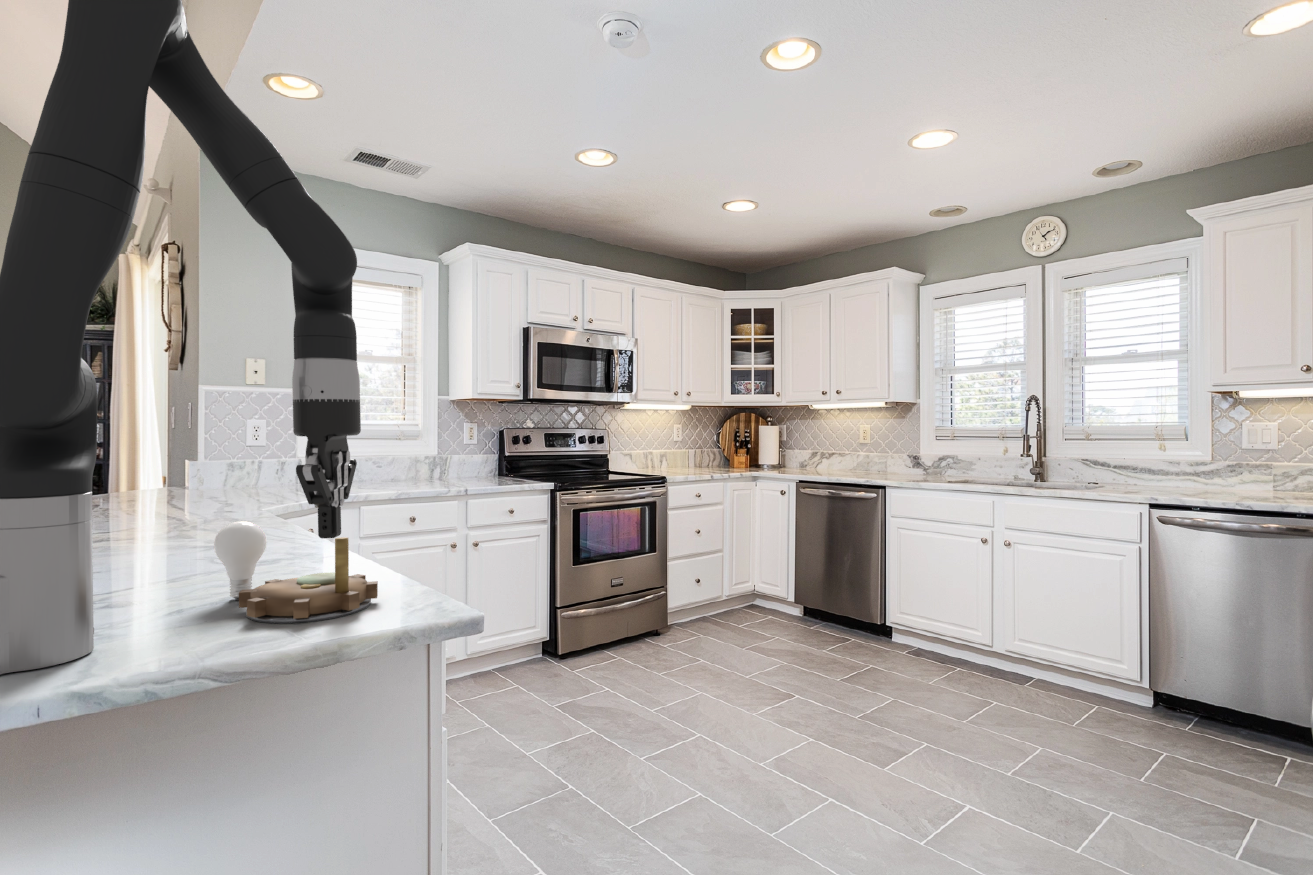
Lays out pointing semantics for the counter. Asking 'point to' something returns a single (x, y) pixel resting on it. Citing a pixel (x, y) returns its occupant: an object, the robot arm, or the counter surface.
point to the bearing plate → (311, 617)
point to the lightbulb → (240, 553)
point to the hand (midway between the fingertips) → (330, 536)
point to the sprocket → (311, 591)
